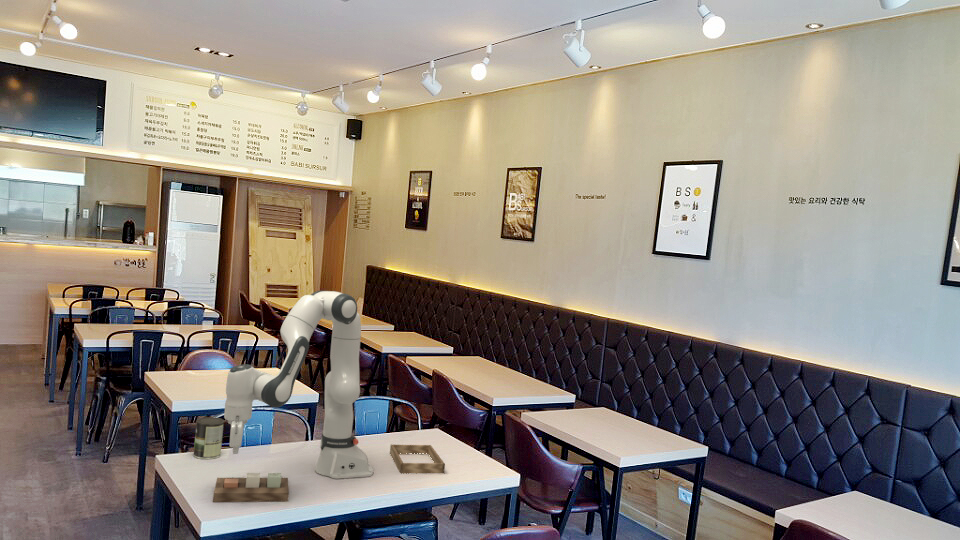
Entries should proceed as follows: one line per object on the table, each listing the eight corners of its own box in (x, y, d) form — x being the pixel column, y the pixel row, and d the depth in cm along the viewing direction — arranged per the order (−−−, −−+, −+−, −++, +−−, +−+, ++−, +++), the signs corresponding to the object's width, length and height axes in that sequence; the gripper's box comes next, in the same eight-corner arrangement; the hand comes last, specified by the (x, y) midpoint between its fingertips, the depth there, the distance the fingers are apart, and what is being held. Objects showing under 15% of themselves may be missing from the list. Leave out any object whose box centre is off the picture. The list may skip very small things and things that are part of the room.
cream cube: (259, 483, 238) (260, 473, 238) (258, 487, 234) (259, 477, 234) (245, 483, 237) (246, 472, 237) (245, 487, 233) (246, 477, 233)
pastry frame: (429, 454, 302) (430, 445, 302) (443, 473, 277) (444, 464, 277) (389, 453, 297) (390, 444, 297) (400, 473, 272) (401, 463, 272)
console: (287, 485, 246) (287, 477, 246) (288, 501, 232) (288, 492, 232) (216, 486, 239) (217, 477, 239) (212, 502, 225) (213, 493, 225)
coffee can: (189, 458, 265) (192, 422, 265) (198, 450, 275) (201, 416, 275) (216, 460, 266) (219, 424, 265) (224, 452, 276) (227, 418, 276)
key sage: (279, 483, 240) (280, 473, 240) (280, 487, 236) (281, 477, 236) (266, 483, 239) (267, 473, 239) (266, 487, 235) (267, 477, 235)
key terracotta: (237, 488, 236) (238, 478, 236) (236, 493, 232) (237, 482, 232) (224, 488, 235) (225, 478, 235) (223, 493, 231) (224, 483, 231)
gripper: (246, 420, 224) (244, 462, 224) (248, 405, 243) (246, 443, 244) (226, 420, 222) (223, 462, 223) (230, 405, 242) (227, 444, 242)
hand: (235, 452), depth 233 cm, fingers closed
